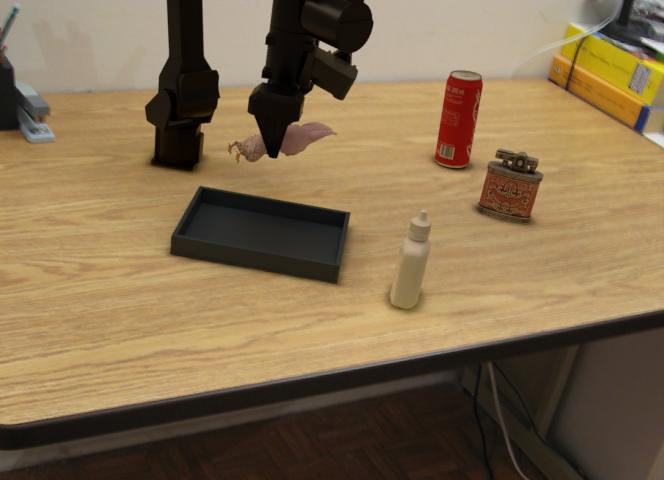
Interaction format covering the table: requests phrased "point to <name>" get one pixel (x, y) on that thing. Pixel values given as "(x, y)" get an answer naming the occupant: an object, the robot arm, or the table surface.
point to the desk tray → (262, 234)
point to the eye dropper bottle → (411, 263)
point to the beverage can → (458, 118)
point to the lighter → (510, 187)
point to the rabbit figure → (292, 143)
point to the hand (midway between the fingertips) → (277, 146)
